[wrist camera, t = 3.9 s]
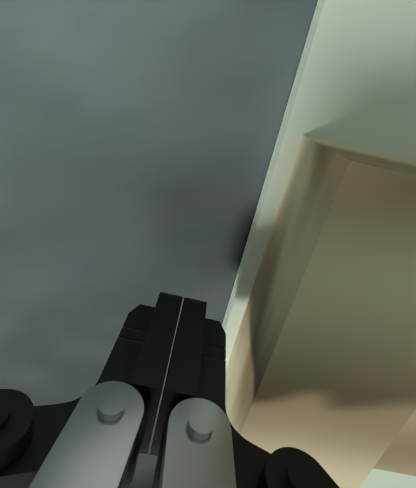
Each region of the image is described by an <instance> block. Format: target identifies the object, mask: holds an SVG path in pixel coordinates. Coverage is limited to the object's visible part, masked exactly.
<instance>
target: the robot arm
mask: <svg viewBox="0 0 416 488" xmlns="http://www.w3.org/2000/svg"><path fill="white" fill-rule="evenodd" d="M182 298H183V297H180V296H176V295H171V294H167V293H162V292H160V295H159V298H158V301H157V304H156V307H150V306H146V305H141V304H140V305H139V306H137V307H136V308H135V309H134V310H132V311H131V312H130V313H129V314H128V316H127V319H126V321H125V323H124V325H123V328H122V330H121V332H120V334H119V337H118V338H117V341H116V343H115V345H114V347H113V350H112V352H111V354H110V356H109V358H108V361H107V363H106V365H105V367H104V369H103V372H102V374H101V376H100V378H99V380H98V382H97V384H96V385H95V386H93V387H92V388H90V389H89V390H88V391H86V393H85V394H84V395H83V396H82V397H80V398H78V399H76V400H74V401H71V402H67V403H62V404H54V405H44V406H34V407H33V403H32V401H31V399H30V398H29V397H28V396H27V395H26V394H24V393H22V392H20V391H17V390H13V389H0V488H128V486H129V485H130V483H131V481H132V479H133V476H134V472H135V468H136V464H137V460H138V456H139V453H144V454H147V453H148V448H149V444H150V440H151V435H152V431H153V427H154V422H155V418H156V414H157V409H158V405H159V400H160V396H161V392H162V387H163V383H164V378H165V374H166V369H167V365H168V360H169V356H170V351H171V347H172V342H173V338H174V334H175V329H176V325H177V320H178V316H179V311H180V307H181V302H182ZM206 304H207V302H204V301H199V300H194V299H190V298H184V302H183V306H182V311H181V315H180V319H179V324H178V328H177V332H176V336H175V341H174V345H173V350H172V354H171V359H170V364H169V368H168V373H167V377H166V382H165V387H164V391H163V396H162V401H161V405H160V410H159V414H158V419H157V424H156V428H155V433H154V438H153V442H152V447H151V451H150V455H155V456H158V458H157V464H156V469H155V474H154V479H153V483H152V486H151V488H340V487H339V486H338V485H337V484H336V483H335V482H334V480H333V479H332V478H331V477H330V476H329V474H328V473H327V472H326V471H325V470H324V469H323V467H322V466H321V465H320V464H319V463H318V462H317V461H316V460H315V459H314V458H313V457H312V456H310V455H309V454H307V453H306V452H304V451H302V450H300V449H297V448H293V447H282V448H279V449H277V450H275V451H274V452H273V453H269V452H267V451H265V450H263V449H262V448H260V447H258V446H256V445H254V444H253V443H251V442H249V441H248V440H246V439H245V438H243V437H242V436H241V435H240V434H239V433H238V432H237V431H236V430H235V429H234V427H233V426H232V424H231V422H230V421H229V418H228V416H227V413H226V406H225V392H226V361H225V359H226V350H225V349H226V333H225V331H224V329H223V327H222V325H221V323H220V321H215V320H211V319H206V318H205V314H206Z"/></svg>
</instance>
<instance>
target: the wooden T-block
mask: <svg viewBox="0 0 416 488" xmlns="http://www.w3.org/2000/svg"><path fill="white" fill-rule="evenodd" d="M225 406H226V413H227V416H228V418H229V421H230V422H231V424H232V426H233V427H234V429H235V430H236V431H237V432H238V433H239V434H240V435H241V436H242V437H243V438H245V439H246V440H248V441H249V442H251V443H253V444H254V445H256V446H258V447H260V448H262V449H263V450H265V451H267V452H269V453H273V452H274V451H275V450H277V449H279V448H282V447H293V448H297V449H300V450H302V451H304V452H306V453H307V454H309V455H310V456H312V457H313V458H314V459H315V460H316V461H317V462H318V463H319V464H320V465H321V466H322V467H323V469H324V470H325V471H326V472H327V473H328V474H329V476H330V477H331V478H332V479H333V480H334V482H335V483H336V484H337V485H338V486H339V487H340V488H359V487H360V485H361V484H362V482H363V481H364V480H365V478H366V477H367V476H368V474H369V473H370V471H371V470H372V469H373V468H375V469H380V470H385V471H390V472H395V473H400V474H406V475H411V476H416V161H413V160H408V159H404V158H400V157H396V156H391V155H387V154H383V153H379V152H374V151H370V150H366V149H362V148H357V147H353V146H349V145H345V144H340V143H336V142H332V141H328V140H323V139H319V138H315V137H311V136H306V135H302V137H301V140H300V144H299V147H298V150H297V153H296V156H295V159H294V162H293V165H292V168H291V171H290V174H289V177H288V180H287V183H286V186H285V189H284V193H283V196H282V199H281V202H280V205H279V208H278V211H277V214H276V217H275V220H274V223H273V226H272V229H271V232H270V235H269V239H268V242H267V245H266V248H265V251H264V254H263V257H262V260H261V263H260V266H259V269H258V272H257V275H256V278H255V281H254V285H253V288H252V291H251V294H250V297H249V300H248V303H247V306H246V309H245V312H244V315H243V318H242V321H241V324H240V327H239V330H238V334H237V337H236V340H235V343H234V346H233V349H232V352H231V355H230V358H229V361H228V364H227V367H226V392H225Z"/></svg>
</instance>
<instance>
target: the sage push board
mask: <svg viewBox="0 0 416 488" xmlns="http://www.w3.org/2000/svg"><path fill="white" fill-rule="evenodd" d="M302 135H306V136H311V137H315V138H319V139H323V140H328V141H332V142H336V143H340V144H345V145H349V146H353V147H357V148H362V149H366V150H370V151H374V152H379V153H383V154H387V155H391V156H396V157H400V158H404V159H408V160H413V161H416V0H318V2H317V6H316V9H315V12H314V16H313V19H312V23H311V26H310V29H309V33H308V36H307V39H306V43H305V46H304V50H303V53H302V56H301V60H300V63H299V67H298V70H297V73H296V77H295V80H294V83H293V87H292V90H291V94H290V97H289V100H288V104H287V107H286V111H285V114H284V117H283V121H282V124H281V127H280V131H279V134H278V138H277V141H276V144H275V148H274V151H273V155H272V158H271V161H270V165H269V168H268V171H267V175H266V178H265V182H264V185H263V188H262V192H261V195H260V199H259V202H258V205H257V209H256V212H255V215H254V219H253V222H252V226H251V229H250V232H249V236H248V239H247V243H246V246H245V249H244V253H243V256H242V259H241V263H240V266H239V270H238V273H237V276H236V280H235V283H234V287H233V290H232V293H231V297H230V300H229V303H228V307H227V310H226V314H225V317H224V320H223V324H222V327H223V329H224V331H225V333H226V349H225V350H226V359H225V361H226V367H227V364H228V361H229V358H230V355H231V352H232V349H233V346H234V343H235V340H236V337H237V334H238V330H239V327H240V324H241V321H242V318H243V315H244V312H245V309H246V306H247V303H248V300H249V297H250V294H251V291H252V288H253V285H254V281H255V278H256V275H257V272H258V269H259V266H260V263H261V260H262V257H263V254H264V251H265V248H266V245H267V242H268V239H269V235H270V232H271V229H272V226H273V223H274V220H275V217H276V214H277V211H278V208H279V205H280V202H281V199H282V196H283V193H284V189H285V186H286V183H287V180H288V177H289V174H290V171H291V168H292V165H293V162H294V159H295V156H296V153H297V150H298V147H299V144H300V140H301V137H302ZM359 488H416V476H411V475H406V474H400V473H395V472H390V471H385V470H380V469H375V468H373V469H372V470H371V471H370V473H369V474H368V476H367V477H366V478H365V480H364V481H363V482H362V484H361V485H360V487H359Z"/></svg>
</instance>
